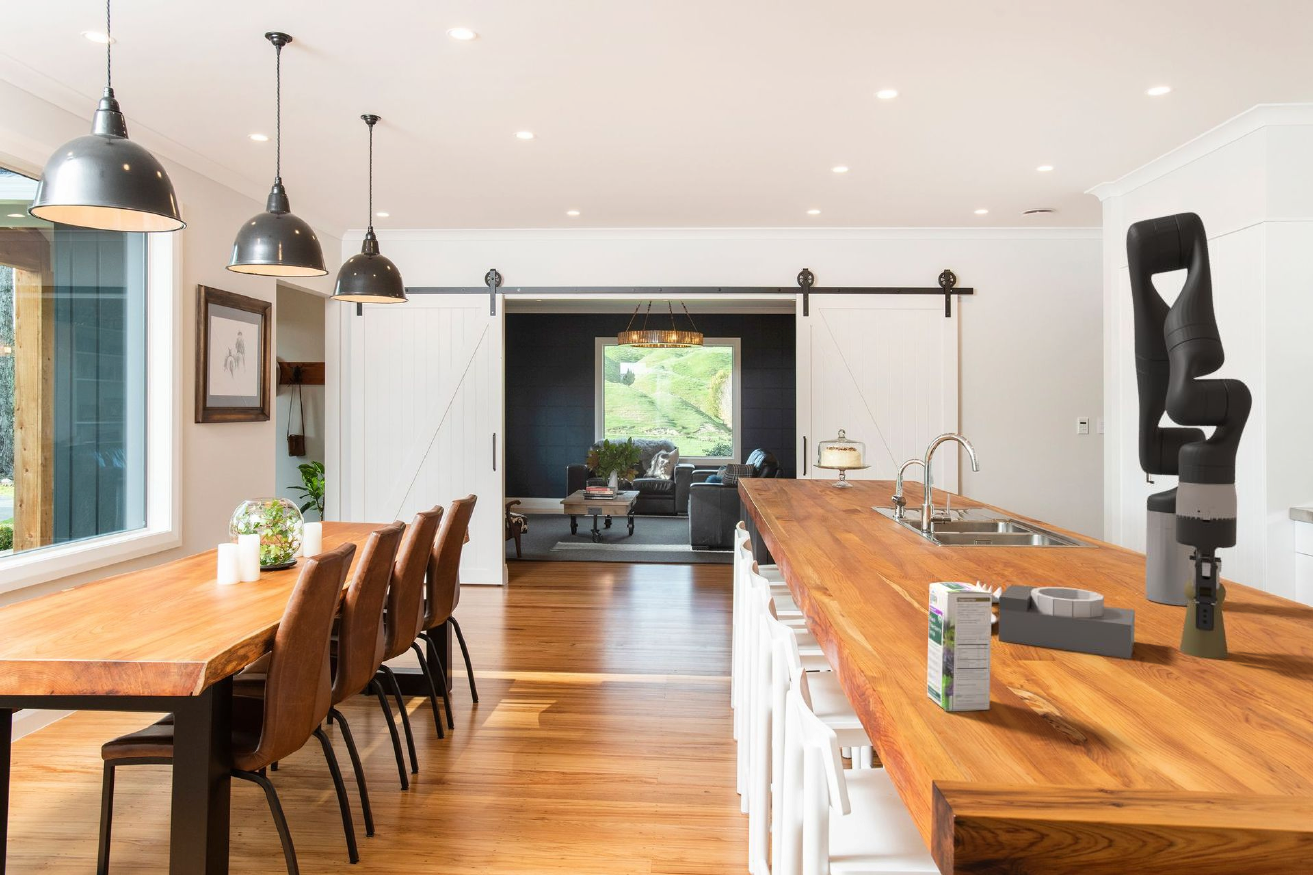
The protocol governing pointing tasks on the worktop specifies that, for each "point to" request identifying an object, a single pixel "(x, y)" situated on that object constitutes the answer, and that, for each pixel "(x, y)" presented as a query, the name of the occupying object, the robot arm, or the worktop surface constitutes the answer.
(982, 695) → the syrup box
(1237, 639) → the worktop surface
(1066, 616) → the camera body
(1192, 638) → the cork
